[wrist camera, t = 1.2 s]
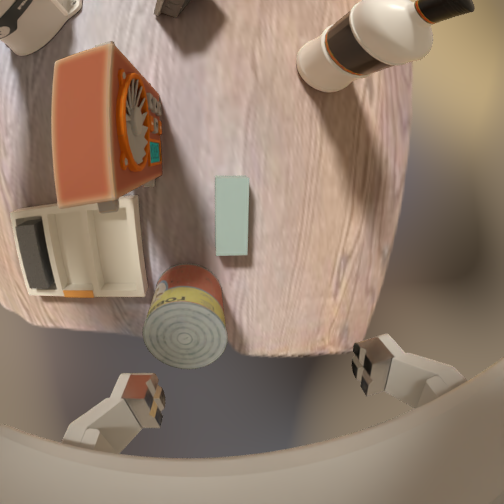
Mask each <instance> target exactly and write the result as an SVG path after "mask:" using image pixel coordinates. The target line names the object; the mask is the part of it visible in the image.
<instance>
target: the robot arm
mask: <svg viewBox="0 0 504 504" xmlns="http://www.w3.org/2000/svg"><path fill="white" fill-rule="evenodd" d="M81 7H82V0H0V40H1V41H2V42H4V43H5V44H6V45H7V46H9V47H10V48H11V50H12V51H13V52H14V53H15V54H16V55H19V56H25V55H28V54H31V53H33V52H35V51H37V50H38V49H40V48H41V47H43V46H44V45H45V44H46V43H48V42H49V41H50V40H51V39H52V38H53V37H54V36H55V35H56V34H57V32H58V31H59V30H60V29H61V27H62V26H63V25H64V23H65V22H66V21H67V20H68V19H69V18H71V17H72V16H73V15H74V14H76V13H77V12H78V11H79V10H80V9H81ZM353 352H354V353H355V356H354V357H353V359H352V370H353V374H354V376H355V378H356V379H357V380H359V381H361V388H362V390H363V391H364V393H365V395H366V396H370V395H373V394H377V393H380V392H383V391H385V392H386V393H388V394H390V395H391V396H393V397H395V398H397V399H399V400H400V401H402V402H404V403H406V404H408V405H410V406H412V407H413V408H415V409H413V410H411V411H409V412H407V413H404V414H402V415H400V416H397V417H395V418H392V419H390V420H387V421H385V422H382V423H379V424H377V425H374V426H371V427H368V428H366V429H362V430H360V431H356V432H353V433H350V434H347V435H344V436H340V437H336V438H333V439H329V440H325V441H321V442H317V443H313V444H309V445H305V446H300V447H295V448H290V449H285V450H279V451H272V452H266V453H259V454H251V455H242V456H231V457H217V458H157V457H142V456H132V455H122V454H119V453H120V452H121V451H122V450H123V449H124V448H125V447H126V445H128V443H129V442H130V441H131V440H132V439H133V438H134V437H135V436H136V435H137V434H138V433H139V431H140V430H141V429H142V428H160V427H161V423H162V418H163V416H162V414H161V411H162V410H163V409H164V408H165V395H164V391H163V389H162V387H160V386H159V385H157V384H158V378H157V376H156V374H154V373H122V374H120V376H119V378H118V380H117V383H116V385H115V387H114V389H113V392H112V394H111V396H110V398H106V399H105V400H103V401H102V402H100V403H99V404H98V405H96V406H95V407H93V408H92V409H91V410H89V411H88V412H86V413H85V414H84V415H82V416H81V417H79V418H78V419H76V420H75V421H74V422H72V423H71V424H70V425H69V427H68V429H67V431H66V433H65V435H64V438H63V440H62V442H61V443H59V442H56V441H52V440H49V439H45V438H42V437H39V436H35V435H33V434H29V433H26V432H24V431H21V430H18V429H16V428H13V427H11V426H8V425H5V424H0V504H504V357H502V358H501V359H500V360H498V361H497V362H496V363H494V364H493V365H491V366H490V367H488V368H487V369H485V370H484V371H482V372H481V373H479V374H478V375H476V376H475V377H473V378H472V379H470V380H469V381H467V380H466V379H465V378H464V377H463V376H462V375H461V374H460V373H459V372H458V371H457V369H456V368H455V367H454V366H451V365H448V364H444V363H441V362H438V361H434V360H431V359H428V358H425V357H421V356H418V355H415V354H411V353H405V352H404V351H403V350H402V349H401V348H400V347H399V345H397V343H396V342H395V341H394V340H393V339H392V338H391V337H390V336H389V335H388V334H383V335H380V336H377V337H374V338H371V339H368V340H364V341H360V342H357V343H355V344H354V346H353Z"/></svg>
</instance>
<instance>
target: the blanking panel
mask: <svg viewBox="0 0 504 504" xmlns="http://www.w3.org/2000/svg"><path fill="white" fill-rule="evenodd" d="M248 210H249V178H248V177H247V176H215V248H216V256H229V255H247V252H248Z"/></svg>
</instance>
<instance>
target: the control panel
mask: <svg viewBox="0 0 504 504" xmlns="http://www.w3.org/2000/svg"><path fill="white" fill-rule="evenodd" d="M159 116H161V103H160V102H159V94H158V93H157V92H156V91H155V89H154V88H153V87H152V86H151V84H150V83H148V82H147V80H146V79H145V78H144V77H143V76H142V75H141V74H140V73H139V71H138V70H137V69H136V68H135V67H134V66H133V65H132V64H131V63H130V61H129V60H128V59H127V58H126V57H125V56H124V55H123V54H122V53H121V52H120V51H119V49H118V48H117V47H116V46H115V44H114V42H113V41H110V42H106V43H103V44H99V45H96V46H95V48H92V49H89V50H86V51H82V52H79V53H76V54H73V55H71V56H68V57H65V58H62V59H60V60H57V61H56V62H55V64H54V74H53V85H52V105H51V138H52V158H53V170H54V180H55V189H56V197H57V204H58V208H60V209H64V208H70V207H75V206H81V205H87V204H94V203H97V204H98V209H99V212H100V213H102V214H103V213H111V212H117V211H118V209H119V197H121V196H123V195H125V194H127V193H128V192H130V191H132V190H134V189H136V188H138V187H140V186H141V185H143V187H144V188H146V187H154V186H155V178H157V177H159V176H161V175H162V156H161V141H160V135H161V134H162V123H161V121H160V120H159Z"/></svg>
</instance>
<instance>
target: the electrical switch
mask: <svg viewBox="0 0 504 504" xmlns="http://www.w3.org/2000/svg"><path fill="white" fill-rule="evenodd" d="M190 1H191V0H157V3H156V6H155V10H154V14H155V15H157V16H159V15H160V14H161V13H164V14H166V15H170V16H172V17H175V18H177V16H178V15H179V14H180V13H181V11H182V10H183V9H184V8H185V6H186V5H187V4H188V3H189V2H190ZM181 7H182V8H181Z"/></svg>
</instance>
